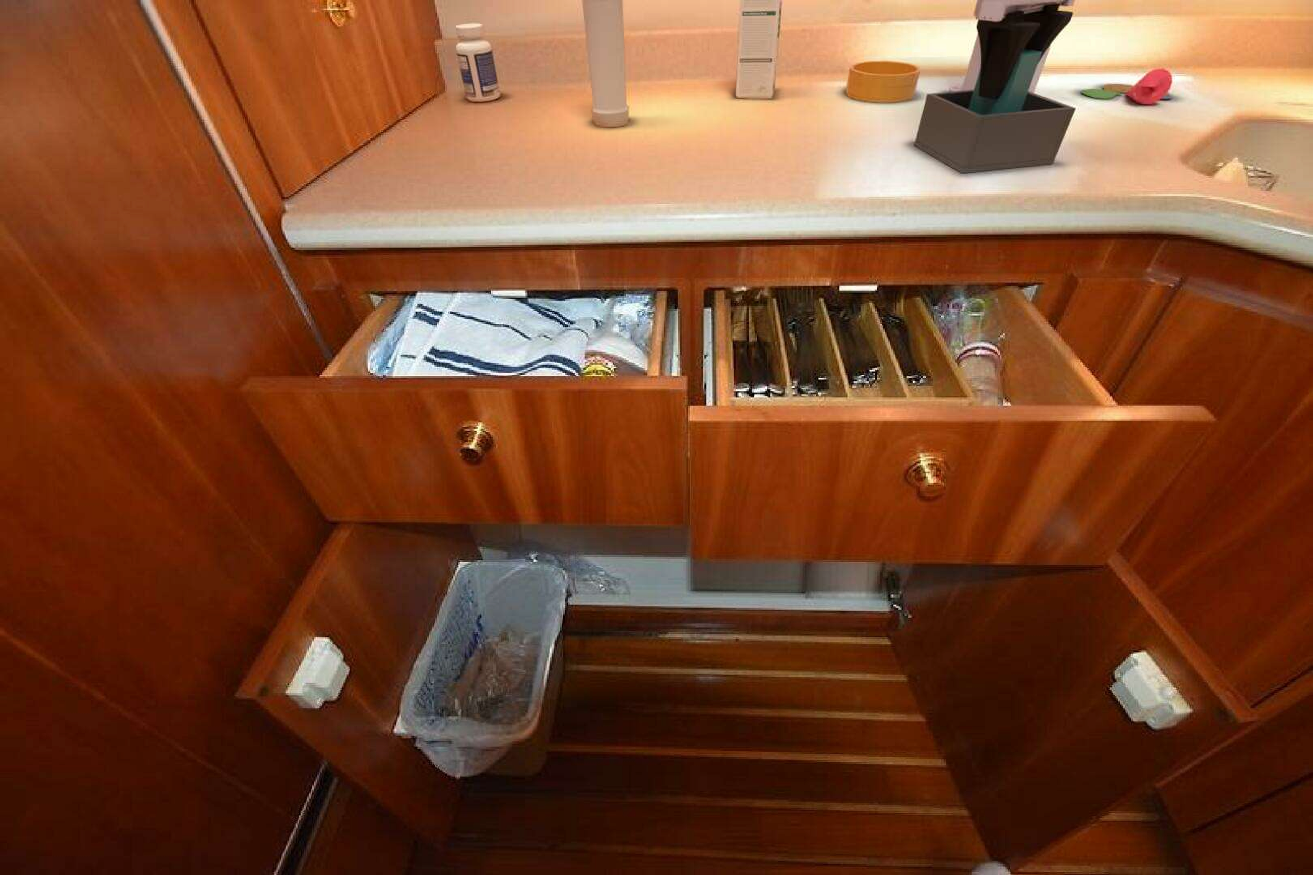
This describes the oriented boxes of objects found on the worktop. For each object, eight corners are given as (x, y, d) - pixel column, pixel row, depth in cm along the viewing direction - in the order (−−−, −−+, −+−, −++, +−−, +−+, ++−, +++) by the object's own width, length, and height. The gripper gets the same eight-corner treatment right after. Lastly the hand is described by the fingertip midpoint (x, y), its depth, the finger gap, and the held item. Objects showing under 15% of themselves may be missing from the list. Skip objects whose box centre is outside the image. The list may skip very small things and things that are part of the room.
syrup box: (772, 99, 89) (784, -22, 79) (733, 98, 90) (740, -21, 80) (774, 90, 93) (786, -26, 83) (737, 89, 94) (744, -26, 84)
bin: (996, 137, 73) (1014, 86, 69) (1053, 163, 65) (1076, 108, 62) (913, 145, 71) (927, 93, 68) (961, 173, 64) (979, 116, 60)
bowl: (893, 84, 94) (899, 58, 91) (926, 99, 87) (933, 72, 84) (835, 89, 93) (839, 63, 90) (863, 105, 85) (869, 77, 83)
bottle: (615, 129, 79) (598, -126, 62) (585, 124, 82) (560, -123, 65) (636, 120, 83) (625, -125, 66) (607, 115, 85) (588, -123, 68)
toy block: (986, 108, 68) (1006, 46, 63) (1019, 115, 65) (1042, 51, 61) (966, 114, 66) (985, 51, 62) (999, 121, 63) (1021, 57, 59)
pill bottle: (502, 93, 96) (489, 21, 90) (498, 101, 92) (484, 27, 86) (469, 95, 96) (454, 23, 90) (464, 103, 92) (447, 28, 86)
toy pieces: (1198, 103, 82) (1217, 66, 79) (1129, 110, 80) (1146, 72, 77) (1129, 83, 90) (1144, 50, 87) (1066, 89, 89) (1079, 55, 86)
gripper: (1051, -75, 60) (1002, 77, 70) (970, -67, 54) (928, 98, 63) (1125, -74, 56) (1062, 87, 65) (1046, -66, 50) (989, 111, 59)
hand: (1000, 93), depth 64 cm, fingers closed on toy block, 4 cm apart
